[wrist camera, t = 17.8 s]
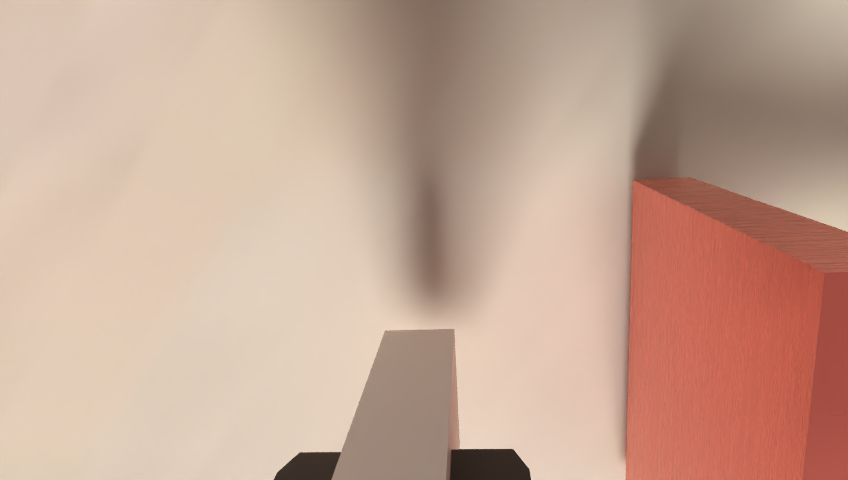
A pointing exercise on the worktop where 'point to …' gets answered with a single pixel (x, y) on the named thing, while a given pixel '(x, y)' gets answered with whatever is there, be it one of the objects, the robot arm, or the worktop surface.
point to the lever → (734, 339)
